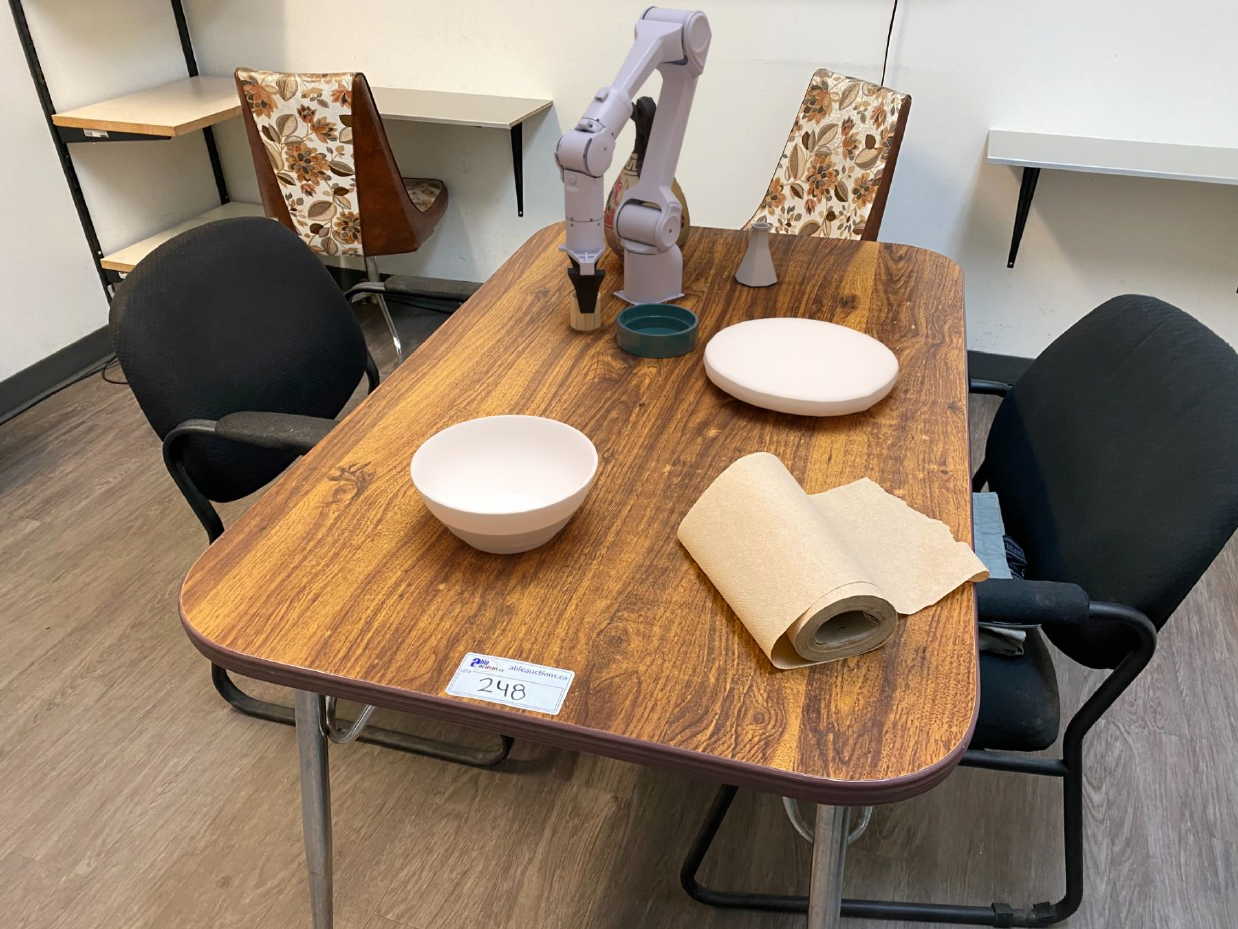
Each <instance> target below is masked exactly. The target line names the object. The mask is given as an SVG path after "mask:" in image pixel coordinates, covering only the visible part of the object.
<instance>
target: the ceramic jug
mask: <svg viewBox="0 0 1238 929" xmlns="http://www.w3.org/2000/svg"><path fill="white" fill-rule="evenodd" d="M631 103H632V107H633V112H632V115H631V116H630V118H629V120H631V121H633V122H634V126H635V138H634V146H633V150H632V152H630V155H629V158H628V159H627V160H626V161H625V162H626V163H625V164H624V165H623V167H622V168H621V170H620V172H619V173H618V176H617V178H616V179H615V181H614V182H613V184H612V187H611V189H610V191H609V193H608V196H607V199H606V203H605V206H604V238H605V239H606V244H607V246H608V247H609V248H610V250H611V251H612V252H613V253H614V254H615V255H616V257H617V258H618V259H619V261H620V262H621V264H622V265H623V266H624V246H622V245H621V239H619V238H618V237H617V236H616V234H615V231H614V224H613V222H614V216H615V213H616V211H617V209H618V207H619V206H620V204H621V201H622V198H623V194H624V192H625V191H626V190H628V189H629V188H631V187H632V186H634V185H635V184H637V183H638V182H639V180H640V175H641V171H642V167H643V163H644V159H645V154H646V150H647V146H648V142H649V138H650V133H651V129H652V125H653V121H654V117H655V112H656V108H657V104H656V102H655V101H654V98H653V97H652V96H646V95H642V96H640V97H638V98H637V99H636V103H635V102H634V101H631ZM671 191H672V192H673V194H674V195H675V196H676V198H677V199H678V200H679V202H680V203H681V205H682V210H681V216H680V234H679V237H678V239H677V241H676V243H675V244H676V245H677V246H678V247H679V249H680V251H681V252H682V251H683V250H684V247H685V246H686V243H687V242H688V238H689V235H690V230H691V218H690V212H689V208H688V203H687V200H686V197H685V193H684V192H683V190H682V187H681V186H680V183H679V182H678V180H677V178H676V177H675V176H674V179H673V184H672V188H671ZM643 205H647V206H651V207H656V208H660V209H661V207H660V206H659V205H656V204H651V203H644V204H643Z"/></svg>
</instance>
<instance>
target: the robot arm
mask: <svg viewBox="0 0 1238 929" xmlns="http://www.w3.org/2000/svg"><path fill="white" fill-rule="evenodd" d="M633 35H634V36H633V37H634V42H633V44H632V46H631V48H630V49H629V51H628V53H627V56H626V57H625V59H624V61H623V63H622V65H621V67H620V69H619V71H618V73H617V74H616V76H615V78H614V80H613V82H612V84H611V86H604V87H603V86H602V87H600V88H599V89H598V90H597V92H596V93H595V95H594V97H593V99H592V100H591V102H590V104H588V106H587V108H586V109H585V112H584V113H583V115H582V116H581V117H580V119H579V120H578V122H577V124H576V125H575V127H574V128H571V129H569V130H567V131H565V132H564V133H563V134H561V135H560V136H559V138H558V140H557V143H556V147H555V151H554V152H553V158H554V162H555V164H556V166H557V168H558V169H559V172H560V174H559V175H560V180H561V182H562V183H563V184H564V185H563V188H564V191H563V192H564V219H565V220H564V222H565V223H564V224H565V242H564V243H563V242H562V243H559V244H558V252H559V253H566V255H567V256H568V259H569V260H570V263H571V266H572V267H567V269H566V270H567V276H568V278H569V280H570V282H571V284H572V286H573V288H574V291H575V292H576V296H577V301H578V306H579V310H580V313H581V314H588V313H594V311H595V308H596V303H597V297H598V292H599V293H600V288H601V286H602V283H603V282H604V280H605V278H606V275H607V271H606V268H599V269H597V268H598V263H599V261H600V258H601V257H602V255H603V254H604V253H605V252H606V250H607V249H606V248H607V247H606V242H605V233H604V211H605V190H604V189H605V178H604V177H605V176H604V175H605V173H606V172H607V171H608V170H609V169H610V167H611V165H612V162H613V157H614V151H615V149H616V145H617V142H616V140H617V139H618V137H619V136H620V134H621V132H622V130H623V129H624V127H625V126H626V124H627V123H628V121H629V120H630V116H631V115H632V112H633V107H632V103H631V102H632V100H633V99H634V97H635V96H636V95H637V93H638V92H639V91H640V89H641V88H642V86H643V85H644V84H645V83H646V81H647V80H648V79H649V78H650V76H651V75H652V73H653V72H654V71H655V70H656V71H658V72H659V74H660V76H661V78H662V82H661V83H662V84H661V87H660V92H659V96H658V100H657V104H656V107H657V108H656V112H655V117H654V121H653V125H652V129H651V133H650V138H649V142H648V146H647V150H646V154H645V159H644V163H643V167H642V171H641V175H640V180H639V182H638V183H637V184H635V185H634V186H632V187H631V188H629V189H628V190H626V191H625V192H624V194H623V198H622V201H621V204H620V206H619V207H618V209H617V211H616V213H615V216H614V222H613V224H614V231H615V234H616V236H617V237H618V238H619V239H621V245H622V246H624V265H623V289H621V290H618V291H614V292H613V293H612V294H613V295H615V296H617V297H619V298H620V299H622V300H625V301H627V302H628V303H630V304H632V305H633V306H635V305H639V304H646V303H664V302H667V301H670V300H673V299H677V298H681V297H684V296H685V293H682V288H683V286H682V284H683V282H682V281H683V263H684V261H683V255H682V251H680V249H679V247H678V246H677V245H676V244H675V243H676V241H677V239H678V237H679V234H680V216H681V210H682V205H681V203H680V202H679V200H678V199H677V198H676V196H675V195H674V194H673V192H672V191H671V188H672V184H673V179H674V177H675V176H676V171H677V167H678V163H679V159H680V155H681V152H682V146H683V142H684V138H685V134H686V131H687V127H688V123H689V120H690V119H689V118H690V115H691V110H692V107H693V102H694V98H695V94H696V89H697V85H698V81H699V78H700V76H701V75H703V73H704V69H705V66H706V62H707V57H708V54H709V50H710V45H711V42H712V38H713V34H712V30H711V26H710V23H709V19H708V17H707V14H706V13H705V12H704V11H703V10H700V9H695V10H689V9H679V8H678V9H676V8H667V7H665V8H664V7H658V6H655V5H649V6H646V7H645V8H644V9H643V10H642V12H641V14H640V16H639V18H638V20H637V21H636V22H635V23H634V29H633ZM644 203H651V204H656V205H659V206H660V207H661V209H660V208H656V207H651V206H647V205H643V204H644Z"/></svg>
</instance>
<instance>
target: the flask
mask: <svg viewBox="0 0 1238 929" xmlns="http://www.w3.org/2000/svg"><path fill="white" fill-rule="evenodd" d="M750 226H751V229H752V231H751V237H750V240H749V244H748V247H747V249H746V251H745V253H744V256H743V258H742V260H741V262H740V264H739V266H738V268H737V270H736V273H735V275H734V277H735V279H736V280H737V282H738V283H741V284H744V285H746V286H750V287H767V286H771V285H772V284H776V283H777V282H778V278H777V274H776V270H775V268H774V264H773V258H772V256H771V252H770V247H769V246H770V244H769V230H771V228H772V225H771V224H770V223H769V222H764V221H755V222H751V223H750Z"/></svg>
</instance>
